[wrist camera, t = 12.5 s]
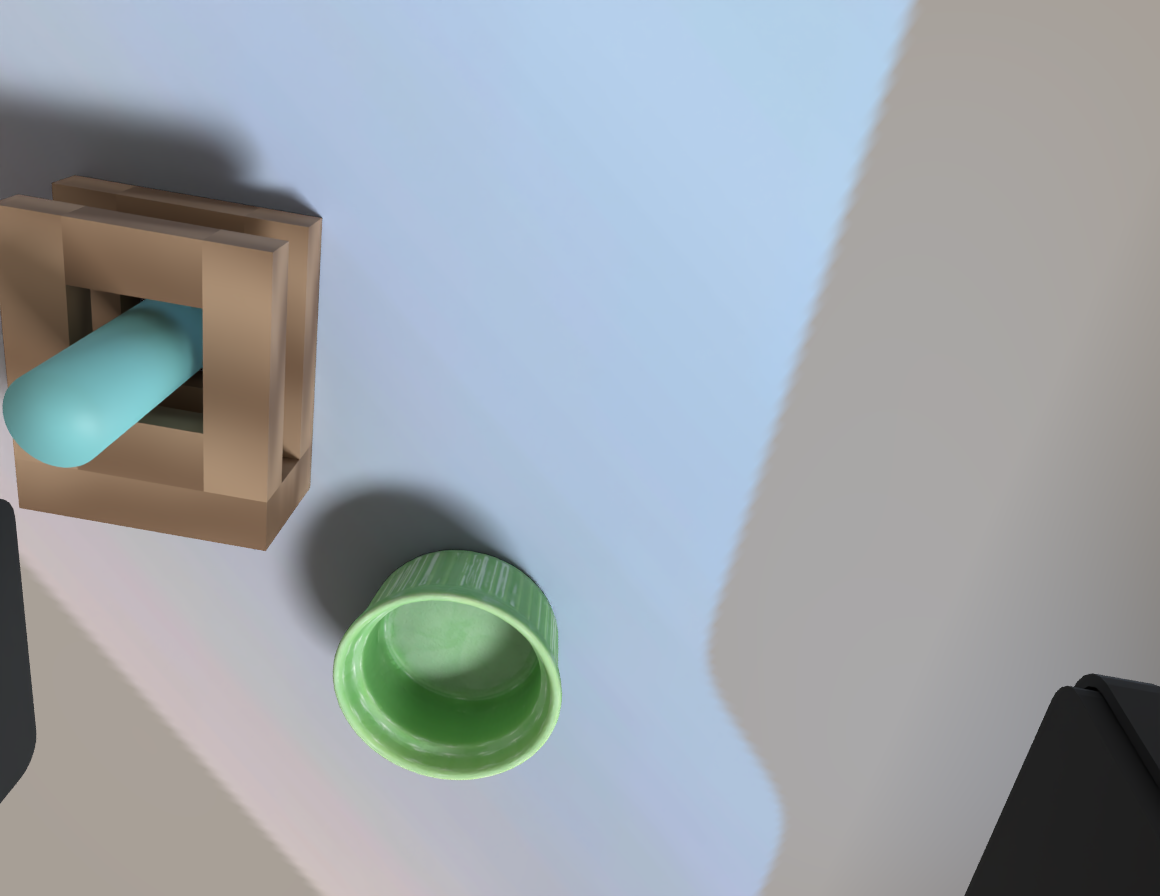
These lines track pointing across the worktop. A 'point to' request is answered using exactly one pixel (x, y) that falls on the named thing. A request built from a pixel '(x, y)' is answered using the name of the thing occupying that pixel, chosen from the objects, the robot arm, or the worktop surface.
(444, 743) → the ramekin
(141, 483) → the block
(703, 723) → the worktop surface
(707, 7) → the worktop surface
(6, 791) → the robot arm
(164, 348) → the peg
